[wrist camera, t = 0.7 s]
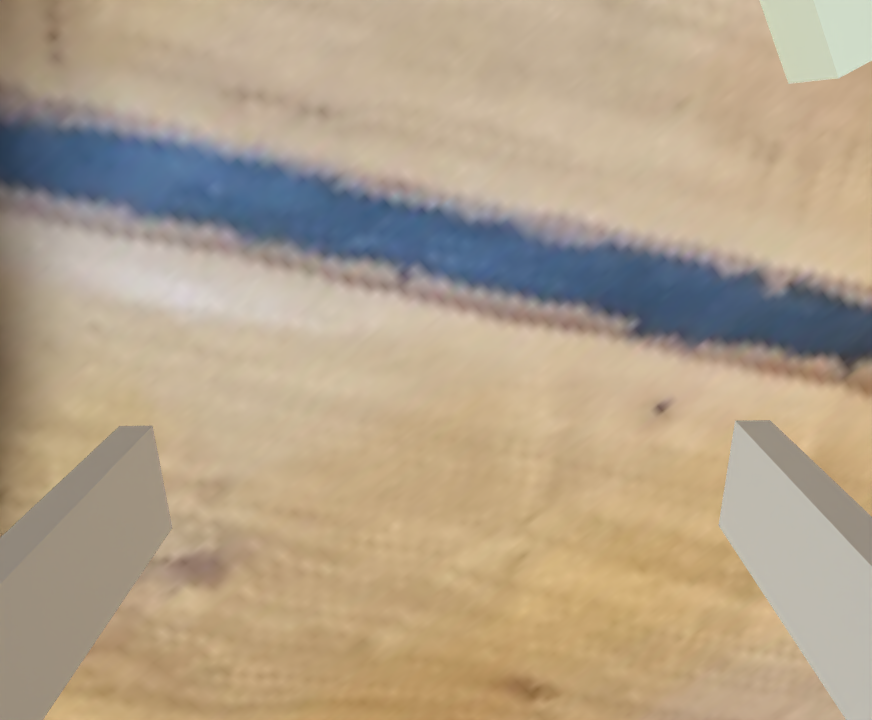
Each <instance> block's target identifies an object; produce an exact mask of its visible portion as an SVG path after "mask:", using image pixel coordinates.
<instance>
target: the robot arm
mask: <svg viewBox="0 0 872 720" xmlns="http://www.w3.org/2000/svg"><path fill="white" fill-rule="evenodd" d="M719 527H720V528H721V530H722V531H723V533H724V534H725V536H726V537H727V539H728V540H729V542H730V544H731V545H732V547H733V548H734V550H735V551H736V553H737V554H738V556H739V557H740V559H741V560H742V562H743V563H744V565H745V566H746V568H747V569H748V571H749V572H750V574H751V576H752V577H753V579H754V580H755V582H756V583H757V585H758V586H759V588H760V589H761V591H762V592H763V594H764V595H765V597H766V598H767V600H768V601H769V603H770V604H771V606H772V608H773V609H774V611H775V612H776V614H777V615H778V617H779V618H780V620H781V621H782V623H783V624H784V626H785V627H786V629H787V630H788V632H789V633H790V635H791V636H792V638H793V640H794V641H795V643H796V644H797V646H798V647H799V649H800V650H801V652H802V653H803V655H804V656H805V658H806V659H807V661H808V662H809V664H810V665H811V667H812V668H813V670H814V672H815V673H816V675H817V676H818V678H819V679H820V681H821V682H822V684H823V685H824V687H825V688H826V690H827V691H828V693H829V694H830V696H831V697H832V699H833V700H834V702H835V704H836V705H837V707H838V708H839V710H840V711H841V713H842V714H843V716H844V717H845V719H846V720H872V517H871V516H870V515H869V514H868V513H867V512H866V511H865V510H864V509H863V508H862V507H861V506H860V505H859V504H858V503H857V502H855V501H854V500H853V499H852V498H851V497H850V496H849V495H848V494H847V493H846V492H845V491H844V490H843V489H842V488H841V487H840V486H839V485H838V484H837V483H835V482H834V481H833V480H832V479H831V478H830V477H829V476H828V475H827V474H826V473H825V472H824V471H823V470H822V469H821V468H820V467H819V466H818V465H817V464H815V463H814V462H813V461H812V460H811V459H810V458H809V457H808V456H807V455H806V454H805V453H804V452H803V451H802V450H801V449H800V448H799V447H798V446H797V445H795V444H794V443H793V442H792V441H791V440H790V439H789V438H788V437H787V436H786V435H785V434H784V433H783V432H782V431H781V430H780V429H779V428H778V427H777V426H775V425H774V424H773V423H772V422H771V421H770V420H759V421H735V426H734V432H733V438H732V444H731V451H730V457H729V463H728V470H727V476H726V482H725V489H724V495H723V501H722V507H721V514H720V520H719ZM171 529H172V524H171V519H170V514H169V508H168V503H167V498H166V493H165V488H164V483H163V477H162V472H161V467H160V462H159V457H158V451H157V446H156V441H155V436H154V431H153V426H119V427H118V428H117V429H116V430H115V431H114V432H113V433H111V434H110V435H109V436H108V437H107V438H106V439H105V440H104V441H103V442H102V443H101V444H100V445H99V446H98V447H96V448H95V449H94V450H93V451H92V452H91V453H90V454H89V455H88V456H87V457H86V458H85V459H84V460H83V461H82V462H80V463H79V464H78V465H77V466H76V467H75V468H74V469H73V470H72V471H71V472H70V473H69V474H68V475H67V476H66V477H64V478H63V479H62V480H61V481H60V482H59V483H58V484H57V485H56V486H55V487H54V488H53V489H52V490H51V491H49V492H48V493H47V494H46V495H45V496H44V497H43V498H42V499H41V500H40V501H39V502H38V503H37V504H36V505H35V506H33V507H32V508H31V509H30V510H29V511H28V512H27V513H26V514H25V515H24V516H23V517H22V518H21V519H20V520H19V521H17V522H16V523H15V524H14V525H13V526H12V527H11V528H10V529H9V530H8V531H7V532H6V533H5V534H4V535H3V536H1V537H0V720H43V719H44V717H45V716H46V714H47V713H48V711H49V710H50V708H51V707H52V705H53V704H54V702H55V701H56V699H57V698H58V697H59V695H60V694H61V692H62V691H63V689H64V688H65V686H66V685H67V683H68V682H69V680H70V679H71V677H72V676H73V674H74V673H75V671H76V670H77V668H78V667H79V665H80V664H81V662H82V661H83V659H84V658H85V657H86V655H87V654H88V652H89V651H90V649H91V648H92V646H93V645H94V643H95V642H96V640H97V639H98V637H99V636H100V634H101V633H102V631H103V630H104V628H105V627H106V625H107V624H108V622H109V621H110V619H111V618H112V617H113V615H114V614H115V612H116V611H117V609H118V608H119V606H120V605H121V603H122V602H123V600H124V599H125V597H126V596H127V594H128V593H129V591H130V590H131V588H132V587H133V585H134V584H135V582H136V581H137V579H138V578H139V577H140V575H141V574H142V572H143V571H144V569H145V568H146V566H147V565H148V563H149V562H150V560H151V559H152V557H153V556H154V554H155V553H156V551H157V550H158V548H159V547H160V545H161V544H162V542H163V541H164V539H165V538H166V537H167V535H168V534H169V532H170V531H171Z"/></svg>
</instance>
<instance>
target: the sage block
mask: <svg viewBox="0 0 872 720" xmlns="http://www.w3.org/2000/svg"><path fill="white" fill-rule="evenodd" d="M760 3H761V6H762V9H763V12H764V15H765V17H766V20H767V23H768V26H769V29H770V32H771V35H772V37H773V40H774V43H775V46H776V49H777V52H778V55H779V58H780V60H781V63H782V66H783V69H784V72H785V75H786V78H787V80H788V83H789V84H790V83H799V82H809V81H818V80H827V79H837V78H840V77H842V76H844V75H846V74H848V73H849V72H851V71H853V70H855V69H857V68H859V67H860V66H862V65H864V64H866V63H868V62H870V61H872V0H760Z"/></svg>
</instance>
